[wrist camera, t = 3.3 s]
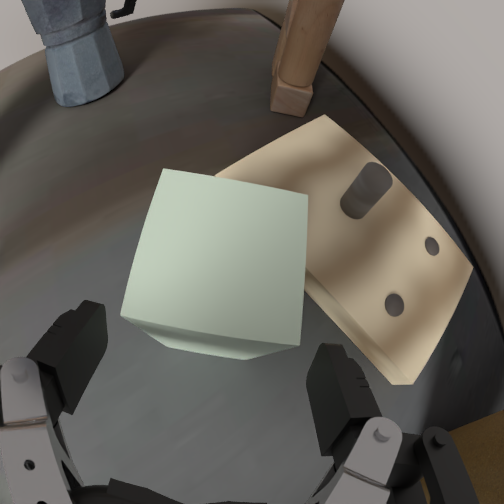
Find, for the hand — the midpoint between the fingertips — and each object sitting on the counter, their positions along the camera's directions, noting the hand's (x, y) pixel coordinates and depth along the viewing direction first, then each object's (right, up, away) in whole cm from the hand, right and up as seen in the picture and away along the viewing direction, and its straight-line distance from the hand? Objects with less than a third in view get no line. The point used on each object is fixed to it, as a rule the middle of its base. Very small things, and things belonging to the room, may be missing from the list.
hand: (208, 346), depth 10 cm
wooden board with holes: (+10, +4, +13) cm, 17 cm away
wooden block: (+5, +22, +20) cm, 30 cm away
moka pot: (-17, +23, +16) cm, 33 cm away
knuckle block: (-1, -1, +9) cm, 9 cm away
